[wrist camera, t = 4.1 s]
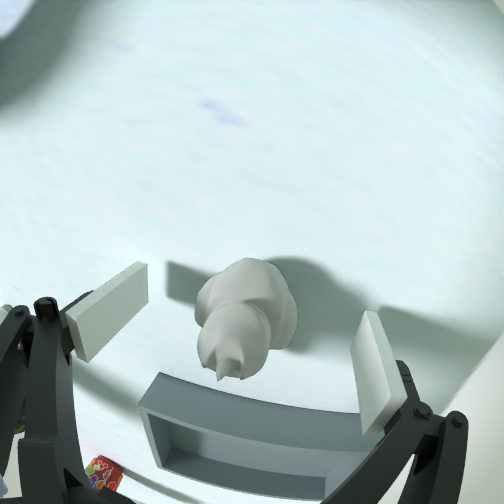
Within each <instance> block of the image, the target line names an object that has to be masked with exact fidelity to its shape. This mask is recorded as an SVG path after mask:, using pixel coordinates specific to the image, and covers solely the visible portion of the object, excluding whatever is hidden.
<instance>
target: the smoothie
mask: <svg viewBox="0 0 504 504" xmlns="http://www.w3.org/2000/svg"><path fill="white" fill-rule="evenodd" d="M122 472H123V470H122V469H121V468H120V467H119V466H118V465H117V464H116V463H114V462H113V461H111V460H109V459H108V458H106V457H103V456H98V457H97V458H94V459H93V460H92V461H91V463H90V464H89V465H88V466H87V468H86V469H85V473H86V475H87V477H88V479H89V481H90V483H91V486H92V487H95V488H100V489H101V488H102V486H103V485H104V486H106V487H108V488H109V489H111V490H113V491H115V492H116V490H117V488H118V486H119V484H120V482H121V480H122V478H123V475H122Z"/></svg>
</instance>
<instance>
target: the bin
mask: <svg viewBox="0 0 504 504" xmlns="http://www.w3.org/2000/svg"><path fill="white" fill-rule="evenodd" d="M138 406H139V410H140V414H141V418H142V421H143V425H144V428H145V431H146V435H147V438H148V441H149V444H150V447H151V450H152V453H153V456H154V459H155V462H156V465H157V467H158V468H160V469H163V470H166V471H168V472H171V473H174V474H177V475H180V476H183V477H186V478H189V479H192V480H195V481H198V482H202V483H205V484H209V485H212V486H216V487H220V488H224V489H229V490H233V491H238V492H243V493H248V494H253V495H259V496H266V497H273V498H281V499H291V500H303V501H323V500H325V499H326V498H327V497H328V496H329V495H330V494H331V493H332V492H333V491H334V490H335V489H336V488H338V487H339V486H340V485H341V484H342V483H343V482H344V481H345V480H346V479H347V478H348V477H349V476H350V475H351V474H352V472H353V471H354V470H355V469H356V468H357V467H358V466H359V465H360V464H361V463H362V462H363V461H364V459H365V458H366V457H367V456H368V455H369V454H370V452H371V451H372V450H373V449H374V448H375V446H376V445H377V444H378V442H379V441H380V440H381V439H382V438H383V437H384V436H385V433H384V429H383V430H382V431H381V432H380V433H379V435H378V436H364V435H363V434H362V425H361V416H360V414H351V413H338V412H328V411H319V410H312V409H304V408H297V407H291V406H285V405H279V404H274V403H269V402H264V401H259V400H254V399H249V398H245V397H241V396H237V395H232V394H228V393H225V392H221V391H217V390H213V389H210V388H206V387H203V386H199V385H196V384H193V383H190V382H186V381H183V380H180V379H177V378H174V377H171V376H168V375H166V374H163V373H160V372H159V373H158V375H157V376H156V378H155V379H154V381H153V382H152V384H151V385H150V387H149V388H148V390H147V391H146V393H145V394H144V396H143V397H142V399H141V400H140V402H139V403H138Z"/></svg>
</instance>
